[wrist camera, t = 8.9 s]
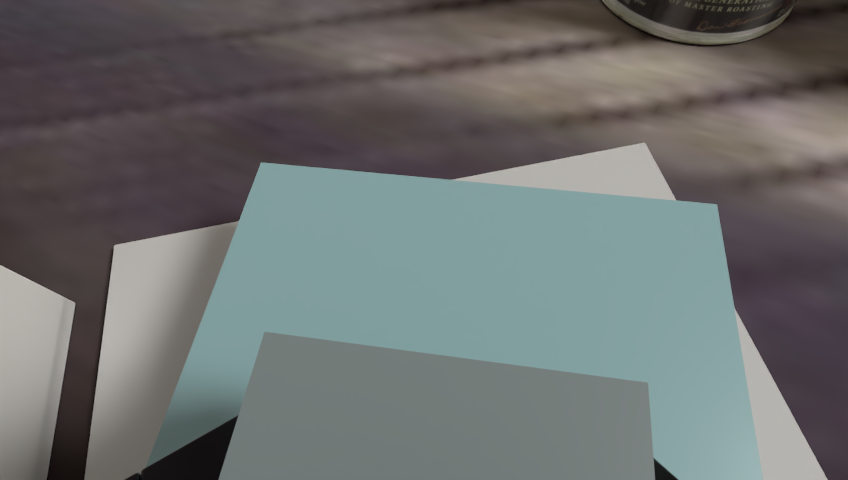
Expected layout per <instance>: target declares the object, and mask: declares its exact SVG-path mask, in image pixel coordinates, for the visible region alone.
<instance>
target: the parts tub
mask: <svg viewBox="0 0 848 480" xmlns="http://www.w3.org/2000/svg"><path fill="white" fill-rule="evenodd" d="M74 309H75V303H74V302H73V301H71V300H69V299H67V298H65V297H63V296H61V295H59V294H57V293H55V292H53V291H51V290H49V289H47V288H45V287H43V286H41V285H39V284H37V283H35V282H33V281H31V280H29V279H27V278H25V277H23V276H21V275H19V274H17V273H15V272H13V271H11V270H9V269H7V268H5V267H3V266H1V265H0V480H47V475H48V469H49V463H50V457H51V450H52V444H53V438H54V432H55V426H56V420H57V414H58V407H59V401H60V395H61V389H62V383H63V377H64V371H65V364H66V358H67V352H68V346H69V340H70V334H71V327H72V321H73V315H74Z"/></svg>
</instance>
